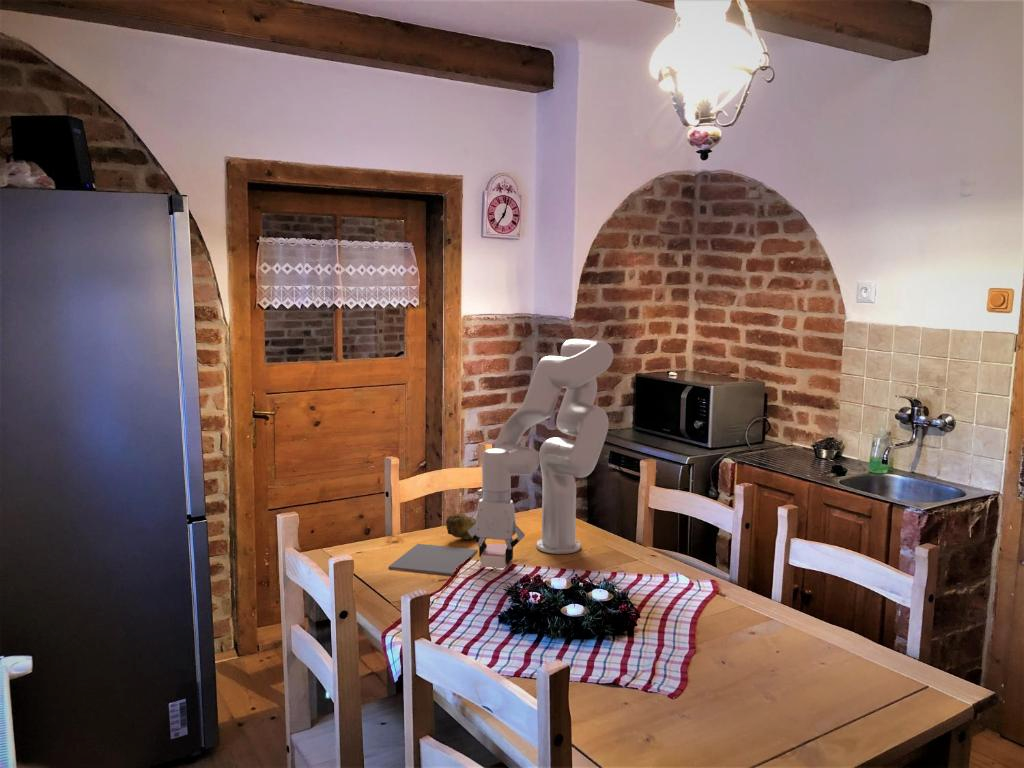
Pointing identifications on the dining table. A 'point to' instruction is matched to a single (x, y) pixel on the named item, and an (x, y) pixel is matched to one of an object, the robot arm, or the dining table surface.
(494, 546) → the card box
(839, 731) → the dining table surface
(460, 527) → the olive green lumpy rock
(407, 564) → the mat
